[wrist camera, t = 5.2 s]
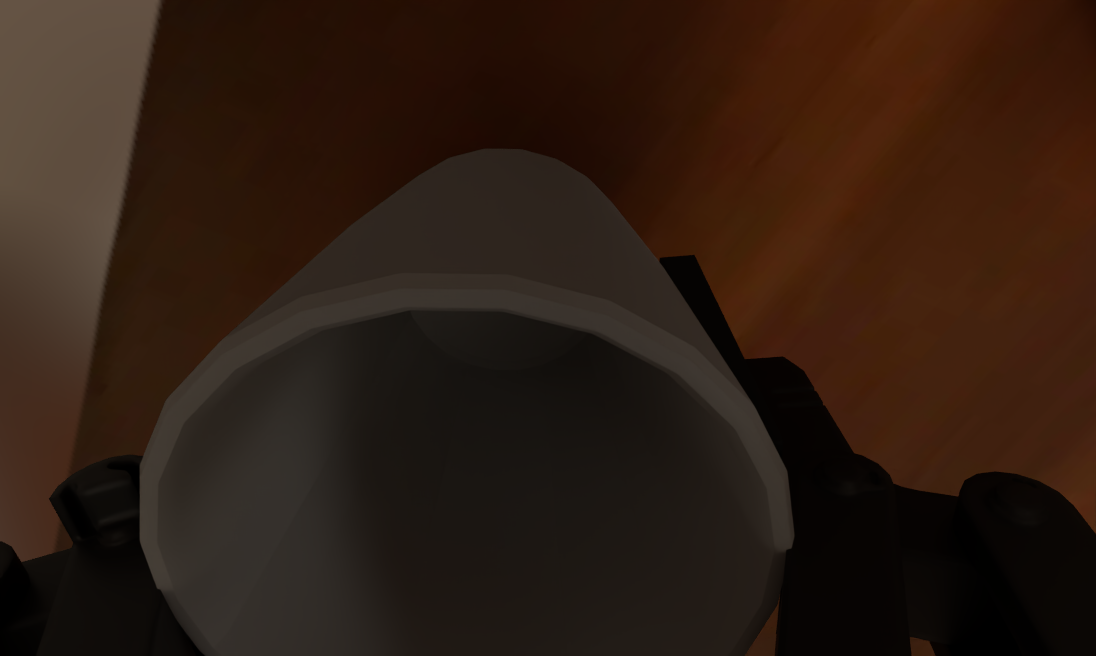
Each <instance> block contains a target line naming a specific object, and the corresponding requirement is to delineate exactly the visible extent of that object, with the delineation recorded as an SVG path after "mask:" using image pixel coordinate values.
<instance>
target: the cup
mask: <svg viewBox="0 0 1096 656" xmlns="http://www.w3.org/2000/svg"><path fill="white" fill-rule="evenodd" d="M793 540H794V527H793V518H792V509H791V500H790V491H789V482H788V473H787V470H786V468H785V466H784V464H783V462H782V460H781V458H780V456H779V454H778V452H777V450H776V448H775V446H774V444H773V442H772V440H771V438H770V436H769V434H768V432H767V430H766V428H765V426H764V424H763V422H762V420H761V418H760V416H759V414H758V412H757V410H756V408H755V406H754V405H753V403H752V402H751V400H750V399H749V397H748V396H747V394H746V393H745V391H744V390H743V388H742V387H741V385H740V384H739V382H738V380H737V379H736V377H735V376H734V374H733V373H732V371H731V370H730V368H729V367H728V365H727V364H726V362H725V361H724V359H723V358H722V356H721V355H720V353H719V351H718V350H717V348H716V347H715V345H714V344H713V342H712V341H711V339H710V338H709V336H708V335H707V333H706V332H705V330H704V329H703V327H702V326H701V324H700V323H699V321H698V319H697V318H696V316H695V315H694V313H693V312H692V310H691V309H690V307H689V306H688V304H687V303H686V301H685V300H684V298H683V297H682V295H681V294H680V292H679V290H678V289H677V287H676V286H675V284H674V283H673V281H672V280H671V278H670V277H669V275H668V274H667V272H666V271H665V269H664V268H663V266H662V265H661V264H660V262H659V261H658V260H657V259H656V257H655V256H654V255H653V254H652V252H651V251H650V250H649V249H648V247H647V246H646V245H645V244H644V242H643V241H642V240H641V238H640V237H639V236H638V235H637V233H636V232H635V231H634V230H633V228H632V227H631V226H630V225H629V223H628V222H627V221H626V220H625V218H624V217H623V216H622V214H621V213H620V212H619V211H618V209H617V208H616V207H615V206H614V204H613V203H612V202H611V201H610V200H609V199H608V198H607V197H606V196H605V195H604V194H603V193H602V192H601V191H600V190H599V189H598V187H597V186H596V185H595V184H594V183H593V182H592V181H591V180H590V179H589V178H588V177H586V176H584V175H583V174H581V173H579V172H578V171H576V170H574V169H573V168H571V167H569V166H568V165H566V164H564V163H563V162H561V161H559V160H557V159H554V158H551V157H547V156H544V155H540V154H537V153H533V152H530V151H526V150H522V149H482V150H478V151H474V152H470V153H466V154H462V155H458V156H454V157H450V158H448V159H446V160H445V161H443V162H441V163H439V164H438V165H436V166H434V167H432V168H431V169H429V170H427V171H425V172H424V173H422V174H420V175H419V176H417V177H416V178H415V179H413V180H412V181H410V182H409V183H408V184H406V185H405V186H404V187H402V188H401V189H400V190H398V191H397V192H395V193H394V194H393V195H391V196H390V197H389V198H387V199H386V200H385V201H383V202H382V203H381V204H379V205H378V206H376V207H375V208H374V209H372V210H371V211H370V212H368V213H367V214H366V215H364V216H363V217H361V218H360V219H359V220H357V221H356V222H355V223H353V224H352V225H351V226H350V227H349V228H347V229H346V230H345V231H344V232H343V233H342V234H341V235H340V236H338V237H337V238H336V239H335V240H334V241H333V242H332V243H331V244H329V245H328V246H327V247H326V248H325V249H324V250H323V251H322V252H320V253H319V254H318V255H317V256H316V257H315V258H314V259H313V260H311V261H310V262H309V263H308V264H307V265H306V266H305V267H304V268H302V269H301V270H300V271H299V272H298V273H297V274H296V275H295V276H293V277H292V278H291V279H290V280H289V281H288V282H287V283H286V284H284V285H283V286H282V287H281V288H280V289H279V290H278V291H277V292H275V293H274V294H273V295H272V296H271V297H270V298H269V299H268V300H266V301H265V302H264V303H263V304H262V305H261V306H260V307H259V308H257V309H256V310H255V311H254V312H253V313H252V314H251V315H250V316H248V317H247V318H246V319H245V320H244V321H243V322H242V323H241V324H239V325H238V326H237V327H236V328H235V329H234V330H233V331H232V332H230V333H229V334H228V335H227V336H226V337H225V338H224V339H223V340H221V341H220V342H219V343H218V345H217V346H216V347H215V348H214V349H213V350H212V351H211V352H210V353H209V354H208V355H207V356H206V357H205V359H204V360H203V361H202V362H201V363H200V364H199V365H198V366H197V367H196V368H195V369H194V370H193V371H192V373H191V374H190V375H189V376H188V377H187V378H186V379H185V380H184V381H183V382H182V383H181V384H180V385H179V387H178V388H177V389H176V390H175V391H174V392H173V393H172V394H171V395H170V396H169V397H168V398H167V400H166V402H165V404H164V406H163V409H162V411H161V414H160V416H159V419H158V421H157V424H156V426H155V429H154V431H153V434H152V436H151V439H150V441H149V444H148V446H147V449H146V451H145V454H144V456H143V458H142V461H141V463H140V543H141V546H142V549H143V551H144V554H145V557H146V560H147V562H148V565H149V568H150V570H151V573H152V576H153V579H154V581H155V584H156V587H157V589H161V591H162V593H163V595H164V597H165V600H166V602H167V603H168V605H169V607H170V609H171V611H172V613H173V614H174V616H175V618H176V620H177V621H178V623H179V624H180V625H181V627H182V628H183V629H184V631H185V632H186V633H187V635H188V636H189V637H190V639H191V640H192V641H193V643H194V644H195V645H196V647H197V648H198V649H199V651H200V652H201V653H203V654H204V655H205V656H745V654H746V653H747V651H748V650H749V648H750V646H751V645H752V643H753V642H754V640H755V639H756V637H757V636H758V634H759V633H760V631H761V629H762V628H763V626H764V625H765V623H766V622H767V620H768V619H769V617H770V615H771V614H772V612H773V611H774V609H775V608H776V606H777V604H778V600H779V596H780V592H781V588H782V584H783V576H784V567H785V558H786V550H787V549H791V548H792V544H793Z"/></svg>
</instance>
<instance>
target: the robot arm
mask: <svg viewBox="0 0 1096 656" xmlns="http://www.w3.org/2000/svg"><path fill="white" fill-rule="evenodd" d="M660 264H661V265H662V266H663V268H664V269H665V271H666V272H667V274H668V275H669V277H670V278H671V280H672V281H673V283H674V284H675V286H676V287H677V289H678V290H679V292H680V294H681V295H682V297H683V298H684V300H685V301H686V303H687V304H688V306H689V307H690V309H691V310H692V312H693V313H694V315H695V316H696V318H697V319H698V321H699V323H700V324H701V326H702V327H703V329H704V330H705V332H706V333H707V335H708V336H709V338H710V339H711V341H712V342H713V344H714V345H715V347H716V348H717V350H718V351H719V353H720V355H721V356H722V358H723V359H724V361H725V362H726V364H727V365H728V367H729V368H730V370H731V371H732V373H733V374H734V376H735V377H736V379H737V380H738V382H739V384H740V385H741V387H742V388H743V390H744V391H745V393H746V394H747V396H748V397H749V399H750V400H751V402H752V403H753V405H754V406H755V408H756V410H757V412H758V414H759V416H760V418H761V420H762V422H763V424H764V426H765V428H766V430H767V432H768V434H769V436H770V438H771V440H772V442H773V444H774V446H775V448H776V450H777V452H778V454H779V456H780V458H781V460H782V462H783V464H784V466H785V468H786V470H787V473H788V482H789V491H790V500H791V509H792V518H793V527H794V540H793V544H792V548H791V549H787V550H786V558H785V567H784V576H783V584H782V588H781V592H780V601H779V611H778V620H777V630H776V634H777V635H776V647H775V656H911V647H910V637H914V638H919V639H923V640H928V641H930V644H931V646H932V648H933V651H934V653H935V655H936V656H1096V534H1095V532H1094V531H1093V530H1092V529H1091V527H1090V526H1089V525H1088V523H1087V522H1086V521H1085V520H1084V518H1083V517H1082V516H1081V514H1080V513H1079V512H1078V511H1077V509H1076V508H1075V507H1074V506H1073V505H1072V504H1071V503H1070V502H1069V501H1068V500H1067V499H1066V498H1065V497H1064V496H1063V495H1062V494H1060V493H1059V492H1058V491H1056V490H1054V489H1052V488H1051V487H1049V486H1047V485H1045V484H1043V483H1041V482H1040V481H1037V480H1034V479H1031V478H1028V477H1024V476H1021V475H1018V474H1012V473H1003V472H988V473H980V474H976V475H974V476H972V477H971V478H969V479H967V480H965V481H964V483H963V485H962V488H961V490H960V492H959V496H958V497H957V496H951V495H944V494H938V493H931V492H925V491H918V490H914V489H909V488H905V487H901V486H898V485H896V484H893V482H892V479H891V477H890V475H889V474H888V473H887V472H886V471H885V470H884V469H883V468H882V467H881V466H880V465H879V464H877V463H876V462H874V461H872V460H870V459H868V458H866V457H864V456H862V455H859V454H855V453H854V452H853V451H852V449H851V448H850V446H849V444H848V443H847V441H846V439H845V438H844V436H843V434H842V433H841V431H840V429H839V428H838V426H837V425H836V423H835V421H834V420H833V418H832V416H831V415H830V413H829V411H828V410H827V408H826V407H825V405H824V406H823V402H822V400H821V398H820V397H819V395H818V393H817V392H816V391H814V387H813V385H812V384H811V382H810V380H809V379H808V377H807V375H806V374H805V372H804V371H803V370H802V369H801V368H799V367H798V366H796V365H795V364H793V363H792V362H790V361H789V360H787V359H786V358H785V357H771V358H757V359H744V357H743V355H742V353H741V351H740V349H739V347H738V344H737V342H736V340H735V338H734V336H733V334H732V332H731V330H730V328H729V326H728V324H727V322H726V320H725V318H724V315H723V313H722V311H721V309H720V307H719V305H718V303H717V301H716V299H715V297H714V295H713V293H712V291H711V289H710V286H709V284H708V282H707V280H706V278H705V276H704V274H703V272H702V270H701V268H700V266H699V264H698V262H697V259H696V257H695V255H689V256H676V257H664V258H660ZM142 458H143V456H137V455H123V456H117V457H111V458H108V459H105V460H102V461H99V462H96V463H94V464H91V465H89V466H87V467H85V468H83V469H82V470H80V471H78V472H76V473H74V474H72V475H71V476H70V477H69V478H67V479H66V480H65V481H64V482H63V483H61V484H60V485H59V486H58V487H57V488H56V489H55V491H54V492H53V494H52V495H51V497H50V498H49V500H50V502H51V503H52V505H53V507H54V509H55V511H56V513H57V514H58V516H59V518H60V520H61V521H62V523H63V525H64V527H65V529H66V530H67V532H68V534H69V536H70V538H71V539H72V541H73V545H72V548H70V549H67V550H63V551H60V552H56V553H53V554H49V555H46V556H42V557H39V558H35V559H32V560H28V561H25V562H21V561H20V559H19V558H18V556H17V554H16V553H15V551H14V550H13V548H12V547H11V546H9V545H8V544H6V543H3V542H0V656H205V655H204V654H203V653H201V652H200V651H199V649H198V648H197V647H196V645H195V644H194V643H193V641H192V640H191V639H190V637H189V636H188V635H187V633H186V632H185V631H184V629H183V628H182V627H181V625H180V624H179V623H178V621H177V620H176V618H175V616H174V614H173V613H172V611H171V609H170V607H169V605H168V603H167V602H166V600H165V597H164V595H163V593H162V591H161V589H157V587H156V584H155V581H154V579H153V576H152V573H151V570H150V568H149V565H148V562H147V560H146V557H145V554H144V551H143V549H142V546H141V543H140V463H141V461H142Z"/></svg>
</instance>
